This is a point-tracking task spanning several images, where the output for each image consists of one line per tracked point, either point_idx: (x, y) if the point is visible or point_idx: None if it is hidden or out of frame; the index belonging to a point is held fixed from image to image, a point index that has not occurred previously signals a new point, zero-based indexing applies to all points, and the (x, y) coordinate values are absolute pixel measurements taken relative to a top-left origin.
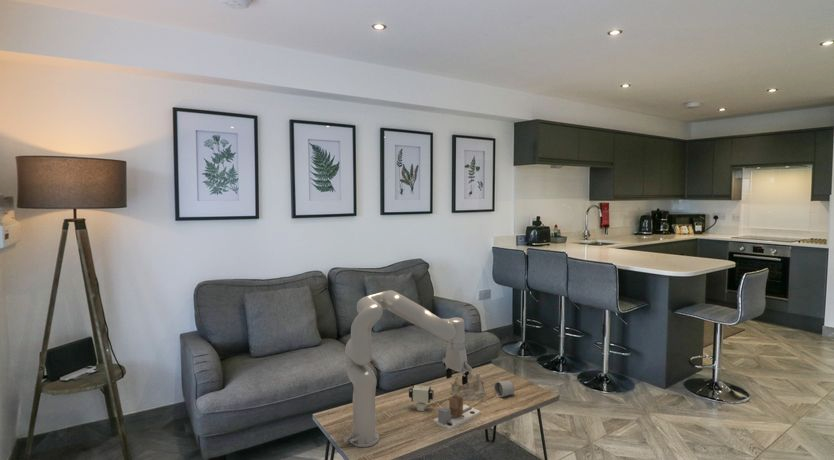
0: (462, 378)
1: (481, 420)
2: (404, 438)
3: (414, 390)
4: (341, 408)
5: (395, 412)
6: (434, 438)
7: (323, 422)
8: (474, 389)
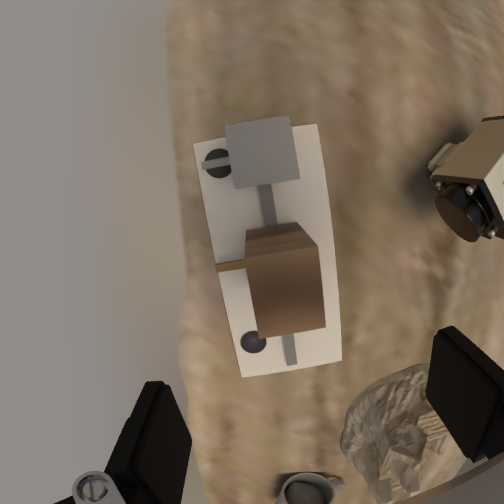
0: (128, 440)
1: (189, 335)
2: None
3: None
4: None
5: (468, 65)
6: (178, 45)
7: None
8: (372, 443)
